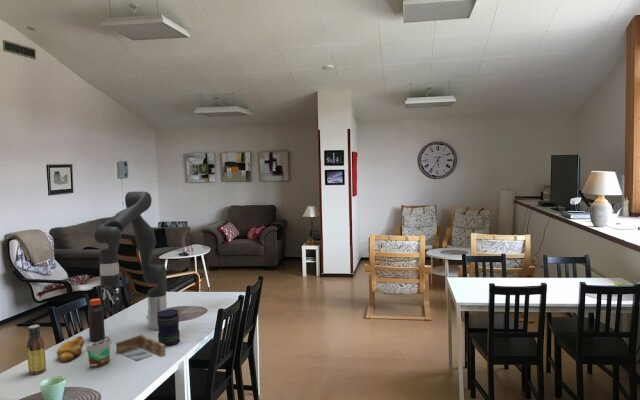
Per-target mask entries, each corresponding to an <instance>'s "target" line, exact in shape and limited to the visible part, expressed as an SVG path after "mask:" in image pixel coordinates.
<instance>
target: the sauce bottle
mask: <svg viewBox="0 0 640 400" xmlns="http://www.w3.org/2000/svg"><path fill="white" fill-rule="evenodd" d="M40 327H41V326H40V324H33V325H30V326H28V329H27V330H28V335H29V336H28V337H29V338H28V340H27V343H26V352H27V365H28V371H29V375H33V376H34V375H40V374H42V373H45V371H47V367H46V366H47V362H46V361H47V359H46V349H45V341H44V339H43V338H42V336H41V333H40V332H41V331H40V330H41V328H40Z"/></svg>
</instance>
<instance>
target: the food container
mask: <svg viewBox="0 0 640 400" xmlns="http://www.w3.org/2000/svg"><path fill="white" fill-rule="evenodd" d="M111 345H112V339H111V337H109V336H107V335H105V336H104V339H102V340H100V341H97V342H93V344H92V345H86V349H85V350H86V352H87V356H88V357H87V358H88V364H89V368H90V369H95V368H100V367H104V366H106V365H108V364H109V363H110V361H111V360H110V359H111V358H110V356H111Z"/></svg>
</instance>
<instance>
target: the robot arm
mask: <svg viewBox="0 0 640 400" xmlns="http://www.w3.org/2000/svg"><path fill="white" fill-rule="evenodd" d="M124 203H125V208H124V209H122V210H120V211H118V212H117V213H116V214H115V215H114V216H113V217H112V218H110V220H107V221H106V222H104V223H102V224H101V225H99V226H98V227H97V228H96V229H95V231H94V233H93V239H94V240H95V242H97V243H98V244H109V246H108V247H107V248H104V249H101V250H99V276H100V277H99V279H100V297H101V298H100V299H102V300H103V309H106V310H107V309H110V308H111V302H112V312H113V313H114V314H115V313H118V312H119V311H120V310H119V309H120V308H119V303H121V302H122V293H121V292H122V291H121V288H120V287H117V284H120V279H121V278H120V265H119V255H118V253H119V248H120V243H121V241H122V240H121V239H122V232H123V231H124V230H125V229H126V228H127V227H128V226H129V224H132V228H133V233H134V238H135V241H136V245H137V250H138V253H139V257H140V264H141V271H142V278H143V281H144V282H146V283H148V284H149V283H151V284H154V283H155V284H157V285H156V286H155V287H152V288H150V289H148V291H147V321H148V322H147V323H148V328H149V330H152V331H159V328H158V324H157V323H158V321H157V313H158V312H160V311H162V310H167V309H168V307H167V267H166V266H165V265H163V264H151V256H152V254H153V252H154V250H155V247H156V245H157V239H156V235H155V231H154V229H153V227H151V225H150V224H149V223H148V222H147V221H146V220H145V219H144V218H143V217H142V214H143V213H145V212H146V211H148V210H149V209H150V207H151V206H152V195H151V194H150V193H149V192H147V191H143V190H142V191H128V192H127V193H126V194H125V197H124Z"/></svg>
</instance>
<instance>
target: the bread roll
mask: <svg viewBox="0 0 640 400" xmlns="http://www.w3.org/2000/svg"><path fill="white" fill-rule="evenodd" d="M84 344H85V339H84V337H83V336H80V335H79V336H75V337H74V338H73V339H71V340H68V341H65V342H62V343H61V345H60V346H59V347H58V348H57V351H56V356H57V357H58V359H60V361H63V362H69V361H71V360H73V359H74V358H76V357H78V356H79V355H80V354H81V353H82V349H83V347H84Z"/></svg>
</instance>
